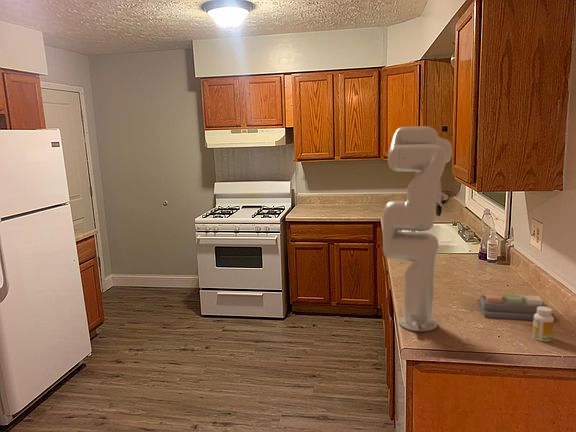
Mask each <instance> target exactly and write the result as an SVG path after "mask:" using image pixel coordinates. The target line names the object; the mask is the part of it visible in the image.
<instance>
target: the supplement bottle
mask: <svg viewBox="0 0 576 432" xmlns="http://www.w3.org/2000/svg"><path fill="white" fill-rule="evenodd" d="M552 312H553V308H550V307H549V306H548V307H544V306H539V307H537V313H536V314H534V319H533V320H532V331H531V332H532V335H531V336H532V338H533V339H534V340H537V341H539V342H546V343H547V342H551V341H552V340H553V334H554V320H555V318H554V317H553V315H552Z"/></svg>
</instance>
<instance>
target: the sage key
mask: <svg viewBox="0 0 576 432" xmlns="http://www.w3.org/2000/svg"><path fill="white" fill-rule="evenodd" d="M504 297H505V298H504V300H505V302H506V303H507V304H522V299H521V298H522V297H521V296H520V295H519V294H509V293H508V294H506V293H504Z"/></svg>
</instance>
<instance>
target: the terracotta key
mask: <svg viewBox="0 0 576 432" xmlns="http://www.w3.org/2000/svg"><path fill="white" fill-rule="evenodd" d="M484 296H485V300H486V302H487V303H502V298H501V297H502V296H501V295H500V293H490V292H489V293H487V292H486V293H484Z"/></svg>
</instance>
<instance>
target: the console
mask: <svg viewBox="0 0 576 432" xmlns="http://www.w3.org/2000/svg"><path fill="white" fill-rule="evenodd" d="M501 298H502V303H487V302H486V300H485V295H480V296H479V299H477V301H476V302H477V305H478V308H479V310H480V312H481V313H482V315H483V317H484V318H492V319H504V320H505V319H506V320H507V319H508V320H522V321H533V319H534V314H536V313H537V307H539V306H540V305H527V304H526V303H525V301H524V297H521V299H522V304H507V303H506V302H505V300H504V298H505V296H501ZM543 306H544V307H548V308H549V306H548V305H547V304H546V303H545V302H544V301H543Z"/></svg>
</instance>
